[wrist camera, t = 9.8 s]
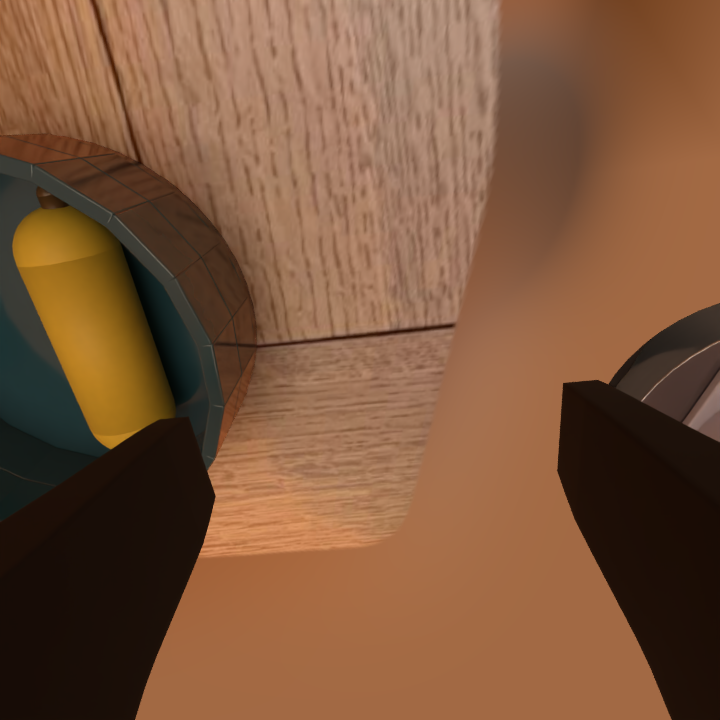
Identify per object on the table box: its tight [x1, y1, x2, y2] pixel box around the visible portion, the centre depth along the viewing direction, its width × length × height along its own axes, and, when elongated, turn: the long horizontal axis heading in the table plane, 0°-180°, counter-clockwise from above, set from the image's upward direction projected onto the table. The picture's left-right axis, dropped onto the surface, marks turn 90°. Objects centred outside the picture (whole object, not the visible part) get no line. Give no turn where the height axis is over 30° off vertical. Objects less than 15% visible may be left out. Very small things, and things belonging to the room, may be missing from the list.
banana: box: [12, 186, 176, 449], centre depth 18 cm, size 10×3×3 cm
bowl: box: [0, 134, 257, 522], centre depth 18 cm, size 14×14×5 cm
